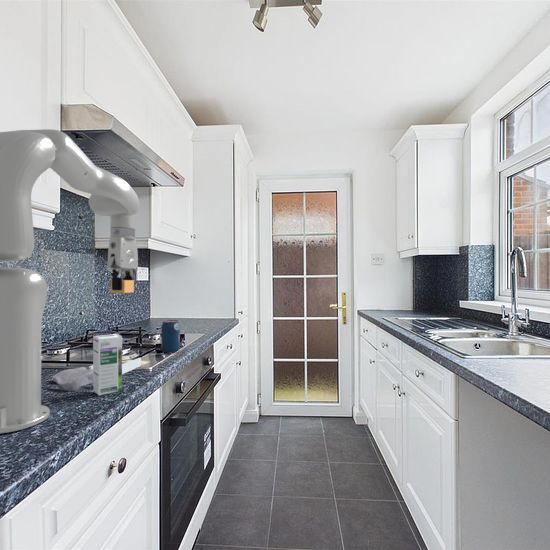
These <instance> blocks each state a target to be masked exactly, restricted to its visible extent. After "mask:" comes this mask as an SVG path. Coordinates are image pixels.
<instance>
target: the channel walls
mask: <svg viewBox="0 0 550 550" xmlns="http://www.w3.org/2000/svg"><path fill="white" fill-rule="evenodd" d="M131 360H132V361H130V362H127V363H125V364H122V375H124V374H126V373H129V372H130V371H133V370H135V369H137V367H138V368H139V367H142V366H141V361H142V357H138V358H135V359H131ZM88 369H93V364H91V365H90V366H88Z"/></svg>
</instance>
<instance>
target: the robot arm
mask: <svg viewBox="0 0 550 550" xmlns="http://www.w3.org/2000/svg"><path fill="white" fill-rule="evenodd" d="M48 169H51V170H52V171H53V172H55V174H56V175H58V176H59V177H60V178H61V179H63V181H64V182H65V183H67V184H68V185H69V187H70V188H73V189H74V190H76V191H80V192H83V193H85V194H86V193H87V194H91V195H90V196H89V198H88V206H89V208H90V210H91V211H92V212H93V213H95V215H98V216H101V217H109V218H110V220H109V223H110V224H109V225H110V227H109V228H110V230H109V233H110V235H109V236H110V238H109V242H108V248H107V249H108V252H107V264H106V267H105V268H106V270H107V271H108V272H109V274H110V277H111V280H112V290H122V280H134V279H133V278H134V276H135V275H134V274H135V273H136V271H137V270H138V268H139V267H138V266H139V256H138V255H139V254H138V245H137V240H136V214H137V213H138V211H139V210H140V205H141V204H140V199H139V197H138V195H137V193H136V192H135V190H134V188H132V186H131V185H130V184H129V182H127V181H126V180H125V179H123V178H122V177H120V176H118V175H116V174H114V173H112V172H110V171H108V170H105V169H103V168H101V167H99V166H97V165H95V164H94V163H93V162H92V160H91V159H90V158H89V157H88V156H87V155H86V154H85V152H83V150H82V149H81V148H80V147H79V146H78V145H77V144H76V143H75V141H74V140H73V139H72V138H71V137H70V136H69V135H68V134H66V133H65V132H63V131H61V130H57V129H53V128H52V129H51V128H50V129H48V128H47V129H46V128H45V129H19V130H18V129H17V130H11V131H10V130H9V131H0V262H17V261H22V260H25V259H27V258H29V257H31V256H32V254H33V252H34V248H35V233H34V221H33V219H34V218H33V209H32V191H33V187H34V185H35V184H36V181H37V180H38V179H39V177H40V176H41V175H42V174H43V173H44V172H46V171H47V170H48ZM122 270H123V271H122ZM122 272H123V278H122V277H121V276H122ZM47 296H48V284H47V281H46V280H45V278H44V276H43V275H41V274H40V273H39V272H37V271H35V270H33V269H30V268H25V267H0V434H6V433H12V432H16V431H20V430H21V431H22V430H25V429H28V428H31V427H33V426H36V425H38V424H40V423H43V422H44V421H45V420H47V419H48V418H49V417H50V414H51V410H50V408H49V407H48V406H46V405H44V404H43V405H42V329H43V328H42V325H43V315H44V310H45V307H46V306H45V305H46V302H47V298H48V297H47Z"/></svg>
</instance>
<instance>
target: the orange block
mask: <svg viewBox="0 0 550 550" xmlns="http://www.w3.org/2000/svg"><path fill="white" fill-rule="evenodd" d="M134 285H135V280H134V279H133V280H123V279H122V290H112V279H111V280H110V293H111V294H112V293H113V294H115V293H118V294H129V293H134V292H135V286H134Z"/></svg>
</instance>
